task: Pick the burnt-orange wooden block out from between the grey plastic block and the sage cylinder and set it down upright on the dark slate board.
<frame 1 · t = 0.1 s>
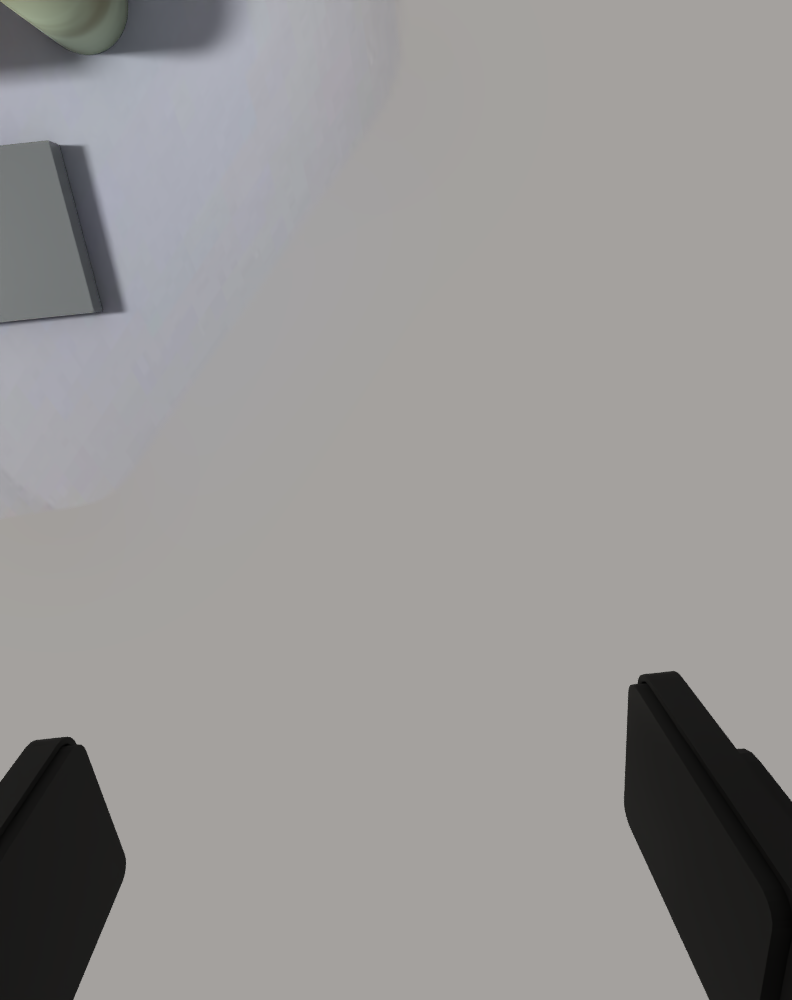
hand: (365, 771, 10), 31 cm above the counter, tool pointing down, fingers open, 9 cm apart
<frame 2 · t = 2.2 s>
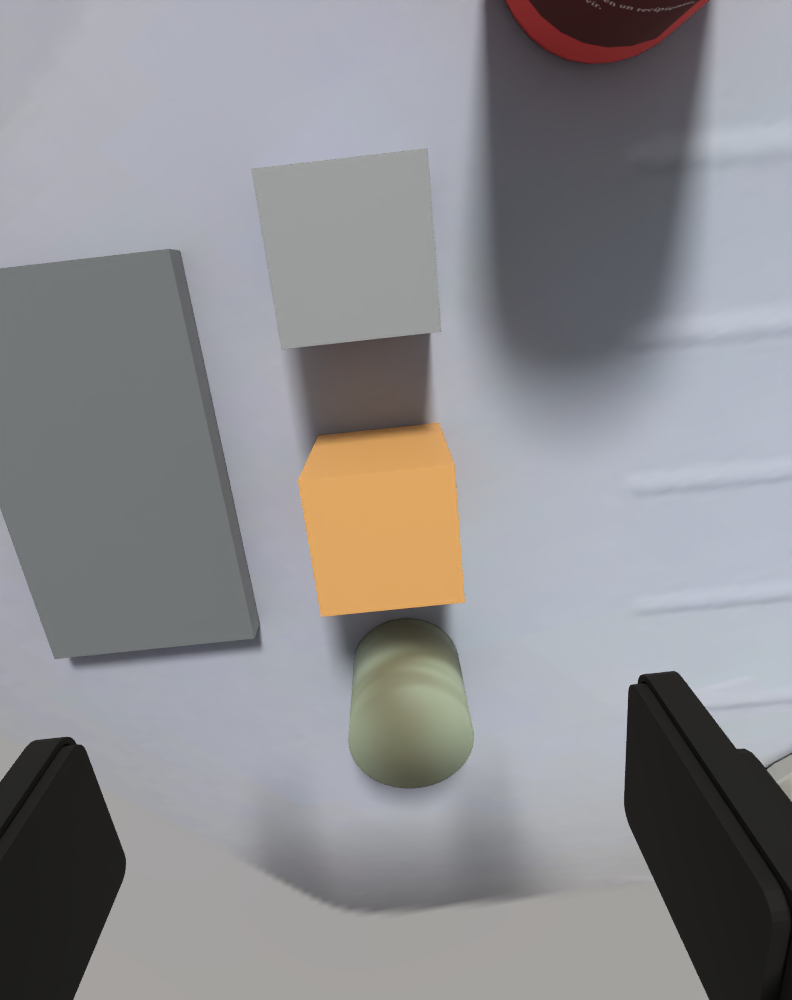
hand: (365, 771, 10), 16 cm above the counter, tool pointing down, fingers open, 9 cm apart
orange block: (385, 486, 25), on the counter
grey block: (358, 259, 22), on the counter
sage cylinder: (406, 663, 28), on the counter
slate board: (117, 469, 25), on the counter
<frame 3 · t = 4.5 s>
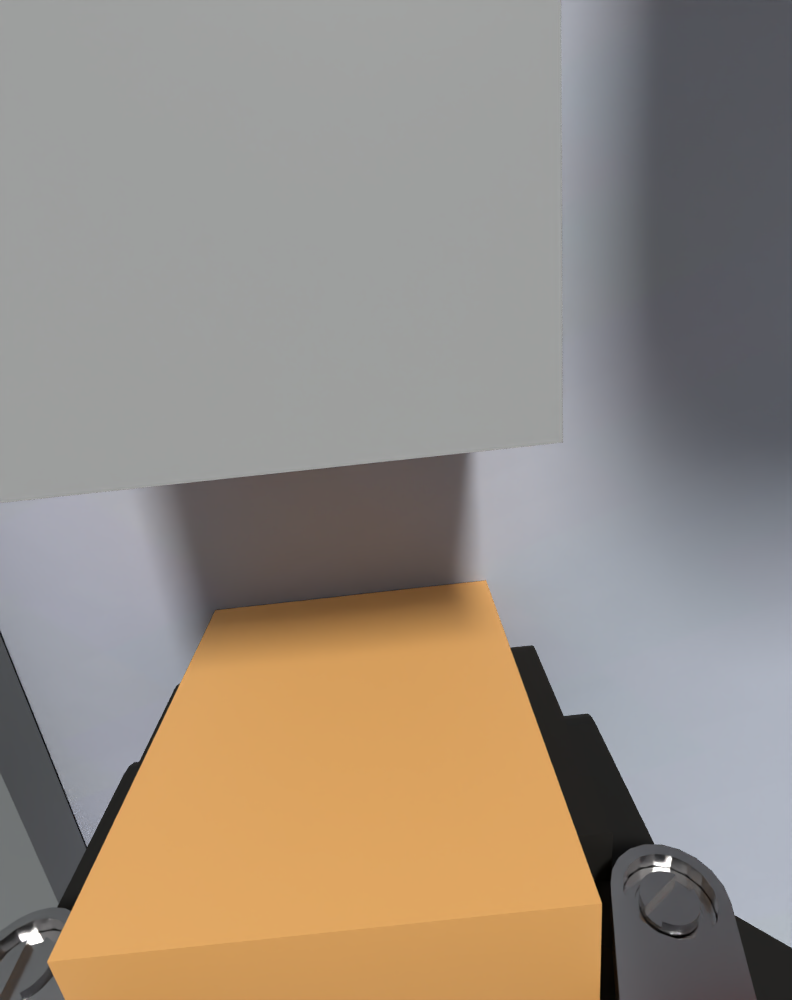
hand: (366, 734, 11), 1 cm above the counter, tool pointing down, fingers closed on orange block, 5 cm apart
orange block: (367, 705, 12), on the counter, touching gripper
grey block: (292, 207, 9), on the counter
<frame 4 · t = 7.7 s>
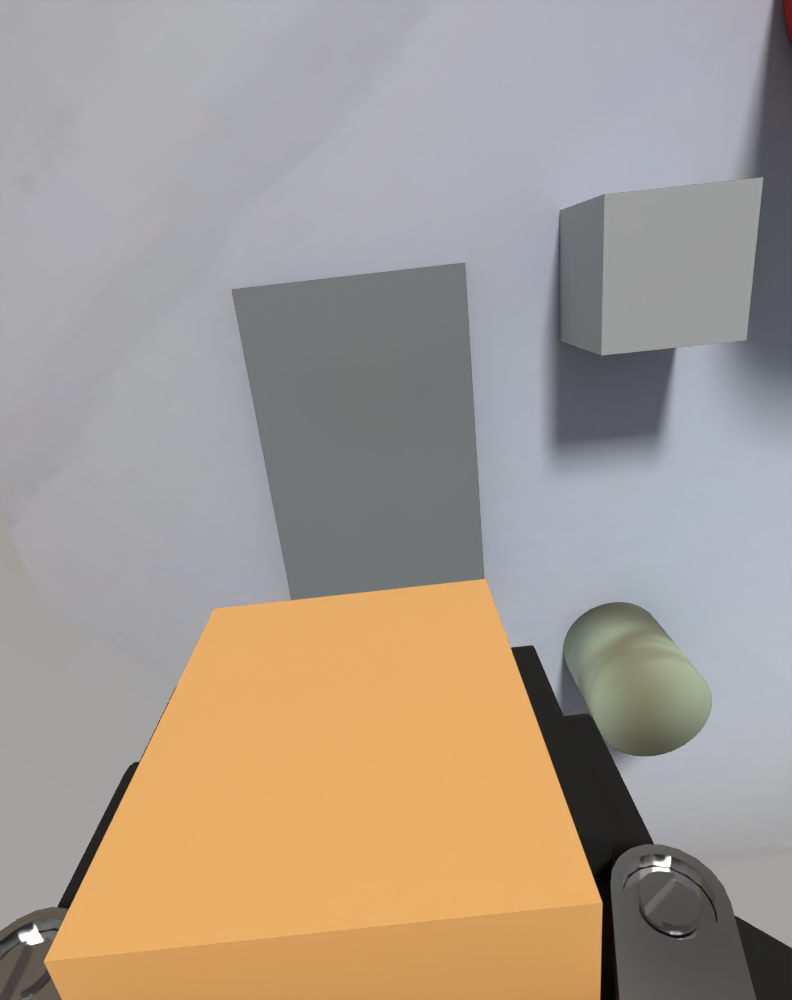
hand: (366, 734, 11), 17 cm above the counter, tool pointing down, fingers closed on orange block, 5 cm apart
orange block: (366, 704, 12), point 16 cm above the counter, touching gripper
grey block: (620, 271, 24), on the counter
sage cylinder: (611, 645, 31), on the counter
slate board: (373, 465, 27), on the counter
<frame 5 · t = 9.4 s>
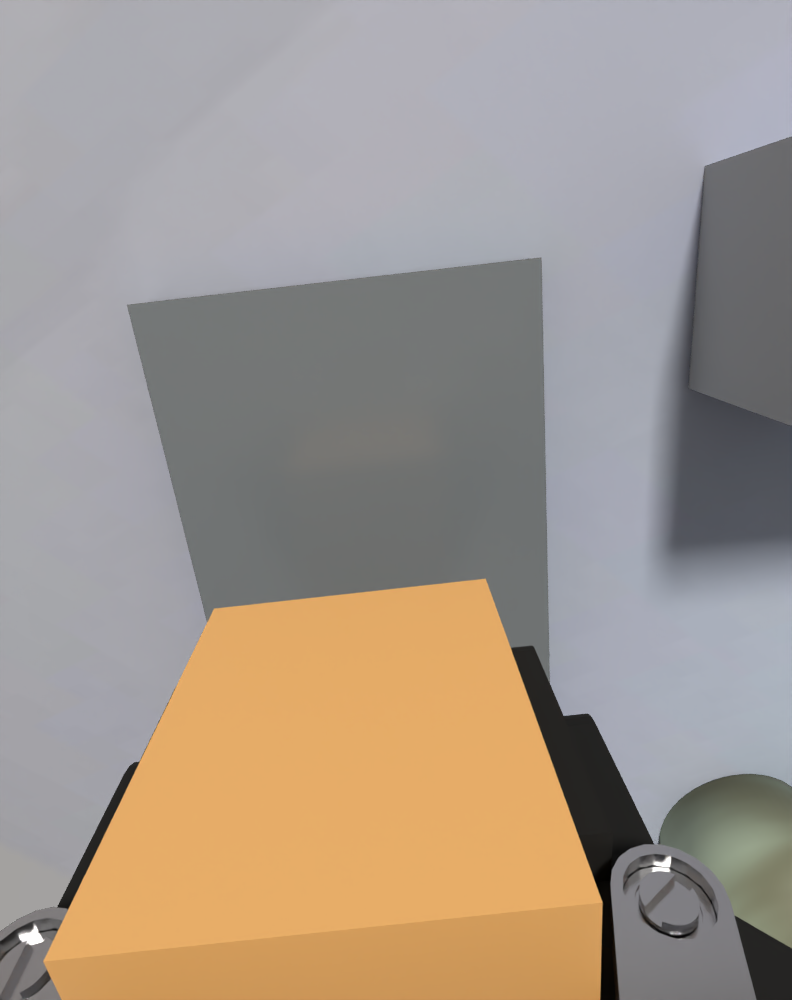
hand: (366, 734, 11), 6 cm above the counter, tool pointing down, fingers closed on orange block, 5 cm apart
orange block: (366, 704, 12), point 5 cm above the counter, touching gripper
sage cylinder: (732, 830, 20), on the counter
slate board: (376, 582, 17), on the counter
when the fingers open (3 cm above the counter, at t = 10.8 s): orange block drops 1 cm, resting on slate board.
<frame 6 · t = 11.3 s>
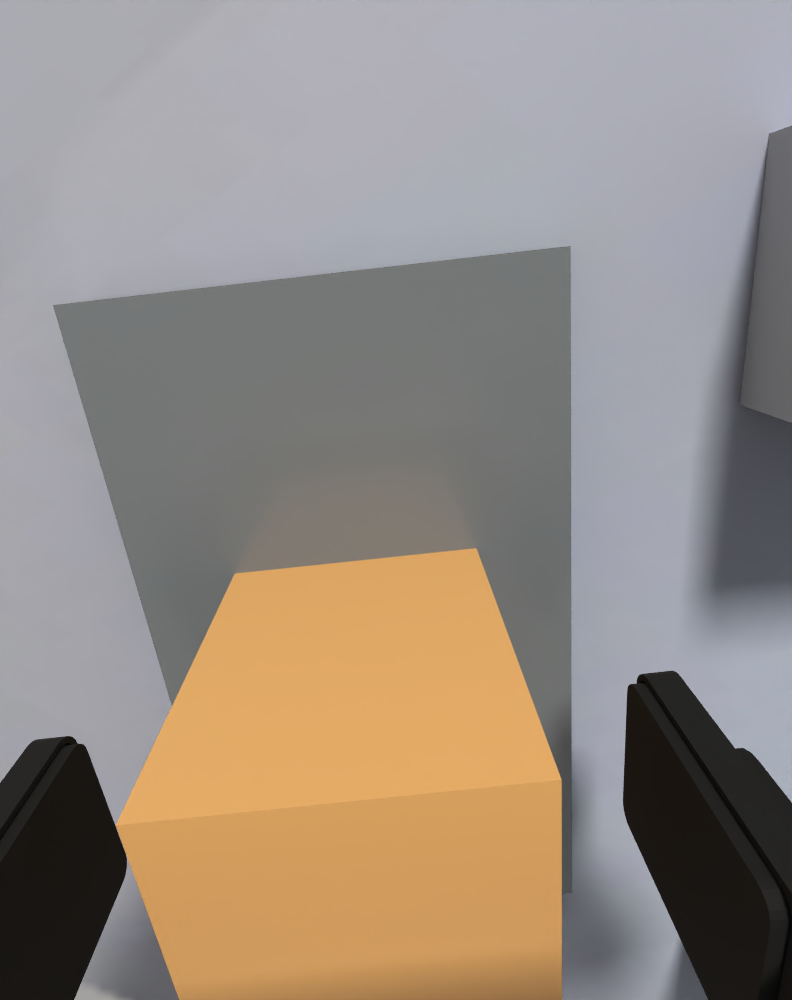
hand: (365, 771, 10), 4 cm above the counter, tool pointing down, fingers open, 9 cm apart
orange block: (369, 662, 13), point 1 cm above the counter, touching slate board
slate board: (368, 631, 14), on the counter
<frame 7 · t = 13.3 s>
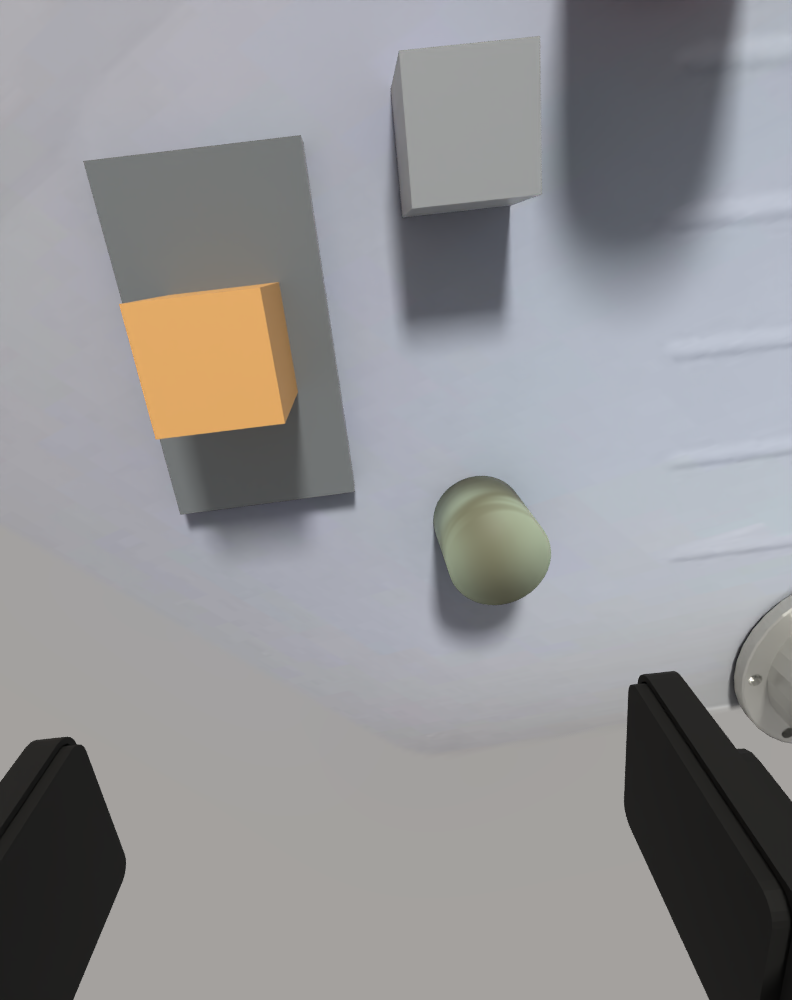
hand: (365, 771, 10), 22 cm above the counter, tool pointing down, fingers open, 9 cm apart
orange block: (235, 345, 28), point 1 cm above the counter, touching slate board
grey block: (452, 149, 26), on the counter
sage cylinder: (477, 518, 33), on the counter
slate board: (238, 341, 29), on the counter
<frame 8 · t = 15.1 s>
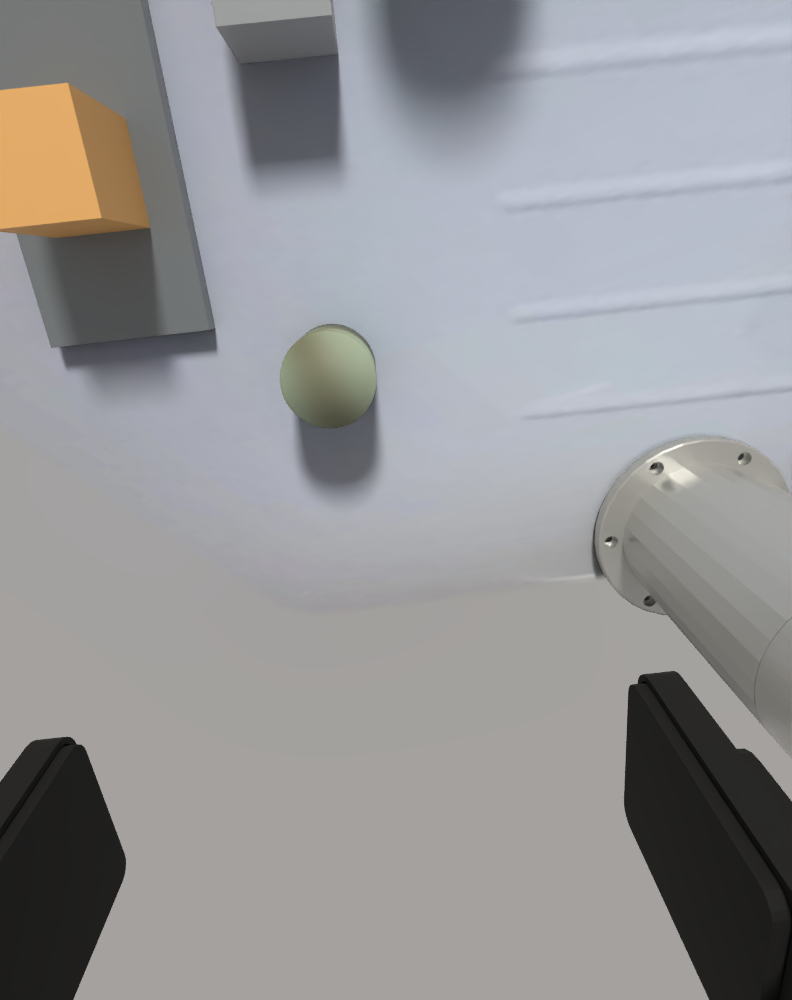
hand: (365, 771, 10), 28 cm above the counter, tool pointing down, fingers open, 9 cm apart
orange block: (90, 180, 31), point 1 cm above the counter, touching slate board
sage cylinder: (333, 367, 36), on the counter
slate board: (99, 183, 32), on the counter
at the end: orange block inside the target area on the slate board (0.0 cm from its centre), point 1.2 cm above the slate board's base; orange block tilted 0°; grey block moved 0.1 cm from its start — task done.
